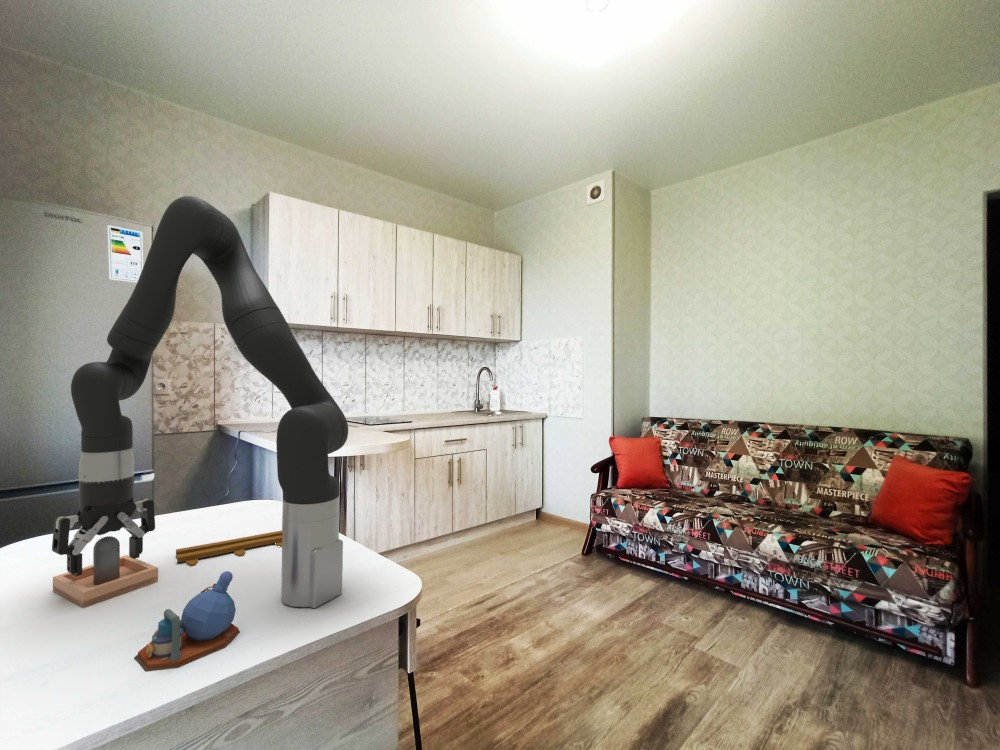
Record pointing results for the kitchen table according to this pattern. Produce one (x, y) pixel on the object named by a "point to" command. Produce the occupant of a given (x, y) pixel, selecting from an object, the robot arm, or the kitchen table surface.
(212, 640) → the model
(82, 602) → the dish
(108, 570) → the plug
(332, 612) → the kitchen table surface
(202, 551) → the decorative fence
